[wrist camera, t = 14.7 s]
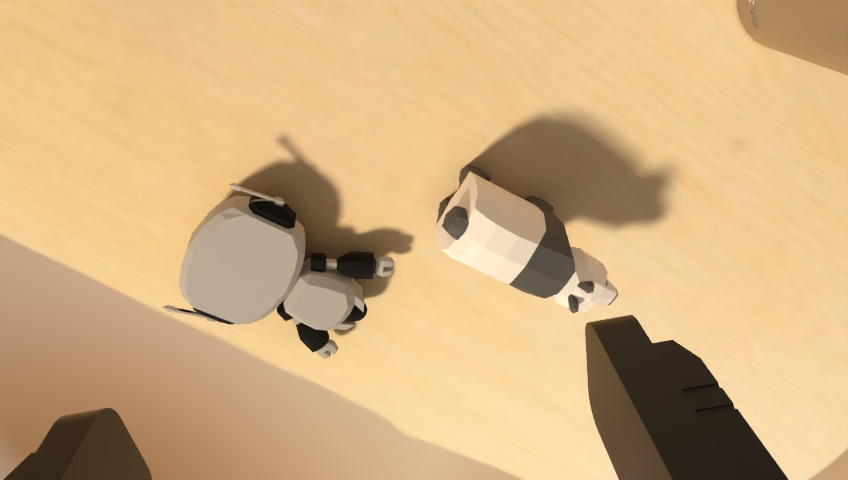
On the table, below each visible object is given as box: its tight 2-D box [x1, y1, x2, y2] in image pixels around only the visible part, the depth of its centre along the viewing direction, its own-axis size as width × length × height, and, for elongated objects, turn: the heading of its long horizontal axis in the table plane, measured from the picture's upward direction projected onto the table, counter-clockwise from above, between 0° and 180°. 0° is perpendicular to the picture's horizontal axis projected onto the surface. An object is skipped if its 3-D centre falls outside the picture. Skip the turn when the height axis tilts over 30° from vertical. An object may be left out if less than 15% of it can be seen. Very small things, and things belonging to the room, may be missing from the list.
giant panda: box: [436, 165, 618, 313], centre depth 46 cm, size 15×6×10 cm, turn 60°
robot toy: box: [162, 183, 394, 358], centre depth 49 cm, size 12×4×15 cm
